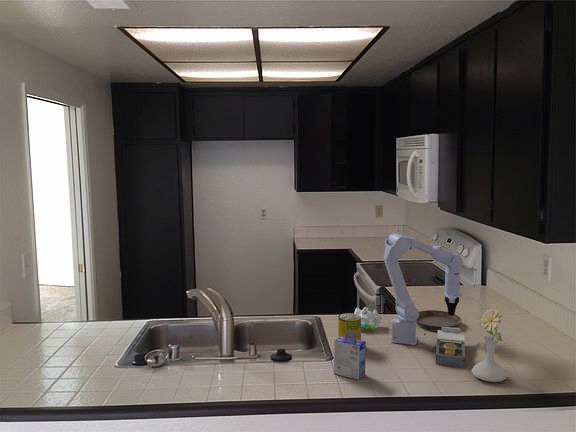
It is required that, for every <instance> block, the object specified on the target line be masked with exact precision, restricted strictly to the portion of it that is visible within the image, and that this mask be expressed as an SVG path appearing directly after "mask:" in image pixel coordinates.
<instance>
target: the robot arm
mask: <svg viewBox="0 0 576 432" xmlns="http://www.w3.org/2000/svg"><path fill="white" fill-rule="evenodd" d="M384 246H385V248H384V251H383V252H384V253H383V262H384V264H385V268H386V271H387V274H388V277H389V280H390V283H391V287H392V290H393V292H394V295H395V298H396V299H395V300H394V302H395V311H396V314H397V318H392V323H391V324H392V326H391V327H392V328H391V343H392V344H393V343H395V344H404V345H410V346H411V345H414V346H416V345H417V341H418V336H416V335H417V323H416V320H417V319H418V317H419V312H420V311H419V309H418V308H417V307H416V305H415V303H414V301H413V300H412V299H411V297H410V294H409V290H408V288H407V284H406V281H405V278H404V275H403V272H402V269H401V266H400V263H399V261H400V259H401V257H403V256H404V255H405V254H406V253H407V252H408V251H412V250H414V249H416V250H418V251H420V252H423V253H425V254H428V256H429V258H430V259H432V260H433V261H435V262H438V263H440V264H442V265H444V266H445V273H444V279H445V280H444V292H443V293H444V295H443V296H444V301H445V302H444V303H445V305H446V307H447V312H448V314H449V315H450V316H454V314H455V313H456V310H457V306H458V304H459V302H460V297H462V296H463V293H462V292H461V291H460V289H461V288H460V285H461V270H462V269H461V268H462V267H463V265H464V264H465V263H464V261H463V258H462V257H461V255H459V254H456V253H453V251H452V250H447V249H445V248H444V246H442V245H433V246H431V245H429V244H426V243H425V242H423V241H420V240H418V239H417V238H414V237H411V236H408V235H404V234H400V233H397V232H392V233H390V234H389V235H388V236H387V238H386V239H385V241H384ZM455 315H456V314H455Z"/></svg>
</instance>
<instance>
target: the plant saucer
mask: <svg viewBox="0 0 576 432" xmlns="http://www.w3.org/2000/svg"><path fill="white" fill-rule="evenodd" d="M461 323H462V317H461V316H459V315H457V314H454V316H450V315H449V314H448V311H445V310H444V311H443V310H436V309H433V310H432V309H428V310H420V311H419V317H418V319H417V320H416V325H418V326H419V327H420V328H424V329H426V330H430V331H436V332H438V330H442V327H451V328H458V327H459V325H460V324H461Z"/></svg>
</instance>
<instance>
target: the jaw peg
mask: <svg viewBox="0 0 576 432" xmlns="http://www.w3.org/2000/svg"><path fill="white" fill-rule="evenodd" d="M444 349H445V355H452V356H455V350H456V345H455V344H451V343H446V344H444Z"/></svg>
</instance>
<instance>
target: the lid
mask: <svg viewBox="0 0 576 432" xmlns="http://www.w3.org/2000/svg"><path fill="white" fill-rule="evenodd" d="M436 337H437V338H436V341H437V340H440V341H444V342H454V343H461V342H464V343H465V332H462V331H461V328H460V327H456V328H451V327H442V330H438V331H437V336H436Z"/></svg>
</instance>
